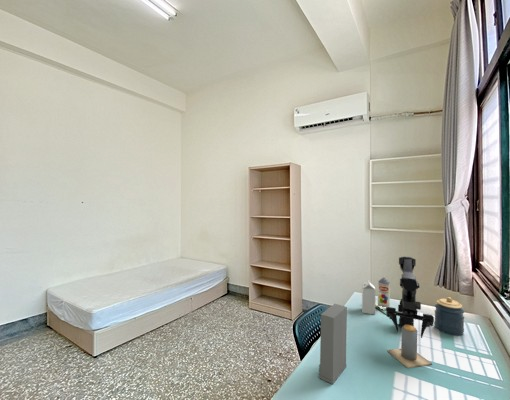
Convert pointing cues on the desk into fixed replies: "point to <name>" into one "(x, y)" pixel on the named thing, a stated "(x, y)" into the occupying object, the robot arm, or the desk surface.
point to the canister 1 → (409, 342)
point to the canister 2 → (449, 316)
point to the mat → (409, 363)
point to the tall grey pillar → (333, 343)
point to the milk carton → (368, 298)
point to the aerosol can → (384, 292)
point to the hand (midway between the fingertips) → (409, 334)
